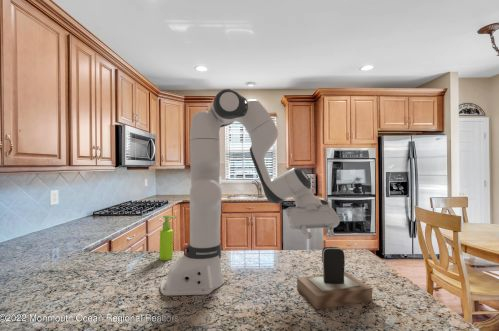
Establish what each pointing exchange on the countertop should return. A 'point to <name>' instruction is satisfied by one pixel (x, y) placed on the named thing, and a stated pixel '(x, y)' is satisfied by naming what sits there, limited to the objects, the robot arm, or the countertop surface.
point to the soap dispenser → (166, 240)
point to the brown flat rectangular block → (333, 291)
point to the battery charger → (333, 265)
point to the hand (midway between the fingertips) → (321, 237)
